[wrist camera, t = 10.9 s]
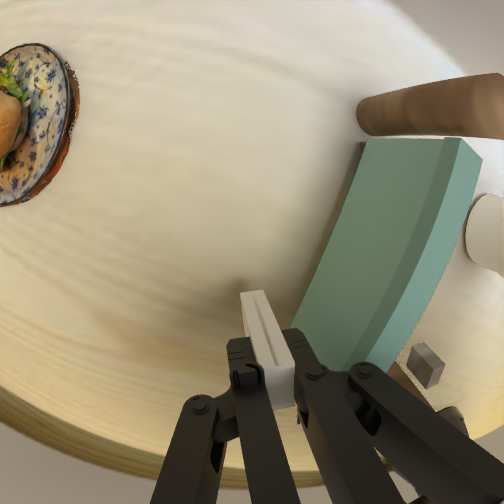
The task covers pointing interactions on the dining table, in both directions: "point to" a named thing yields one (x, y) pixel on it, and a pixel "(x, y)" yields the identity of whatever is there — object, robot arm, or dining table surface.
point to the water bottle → (487, 233)
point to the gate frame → (440, 124)
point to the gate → (388, 249)
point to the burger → (33, 119)
